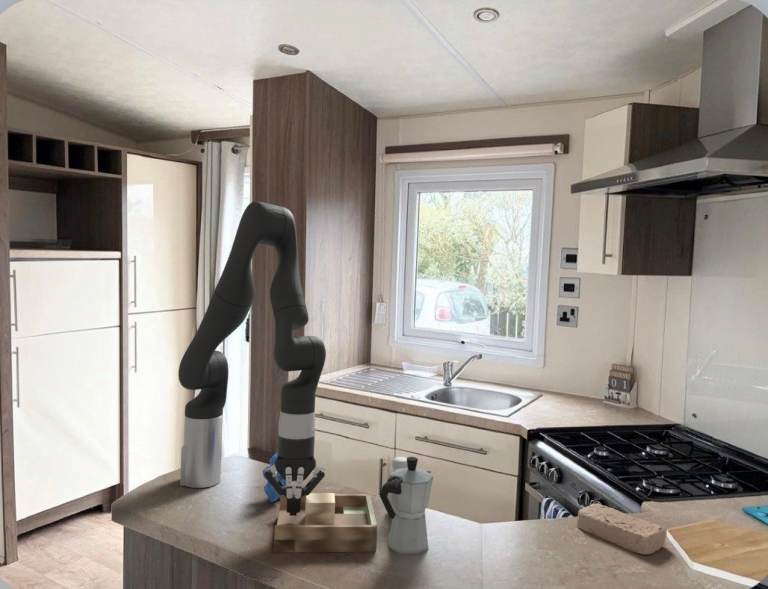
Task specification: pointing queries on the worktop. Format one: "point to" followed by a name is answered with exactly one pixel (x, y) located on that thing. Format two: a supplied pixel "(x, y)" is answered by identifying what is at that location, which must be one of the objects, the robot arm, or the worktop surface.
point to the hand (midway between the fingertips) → (293, 514)
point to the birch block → (320, 509)
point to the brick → (621, 529)
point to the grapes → (268, 487)
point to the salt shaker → (396, 464)
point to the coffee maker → (408, 508)
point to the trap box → (329, 527)
